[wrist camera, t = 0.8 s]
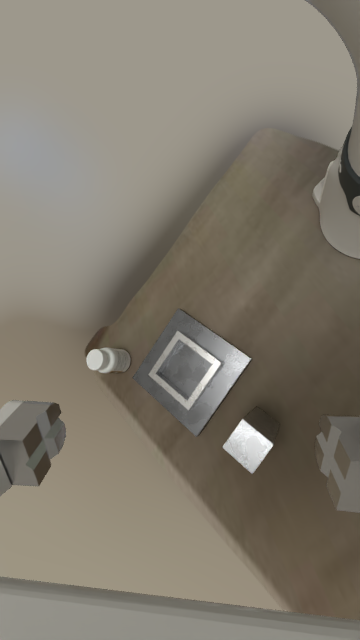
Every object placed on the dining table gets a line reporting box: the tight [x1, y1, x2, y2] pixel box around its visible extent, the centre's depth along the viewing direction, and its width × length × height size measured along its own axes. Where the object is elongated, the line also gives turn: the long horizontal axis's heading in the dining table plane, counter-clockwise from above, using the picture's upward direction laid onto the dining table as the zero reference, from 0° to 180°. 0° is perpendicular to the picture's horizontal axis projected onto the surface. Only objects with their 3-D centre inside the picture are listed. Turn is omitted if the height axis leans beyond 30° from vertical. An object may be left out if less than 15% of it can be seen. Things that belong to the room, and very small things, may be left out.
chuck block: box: [133, 308, 252, 437], centre depth 46 cm, size 15×15×3 cm
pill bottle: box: [87, 348, 131, 373], centre depth 49 cm, size 4×4×8 cm
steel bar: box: [223, 406, 280, 474], centre depth 36 cm, size 4×4×12 cm
